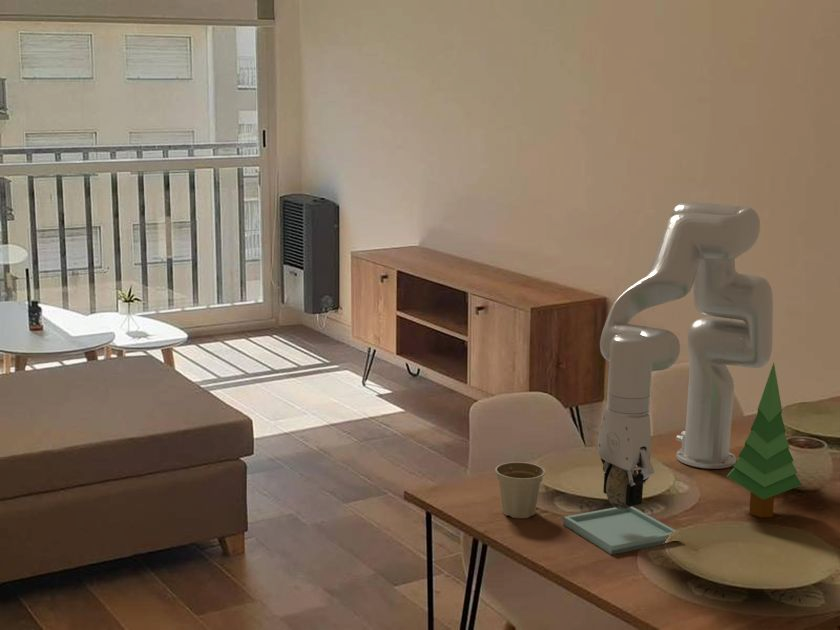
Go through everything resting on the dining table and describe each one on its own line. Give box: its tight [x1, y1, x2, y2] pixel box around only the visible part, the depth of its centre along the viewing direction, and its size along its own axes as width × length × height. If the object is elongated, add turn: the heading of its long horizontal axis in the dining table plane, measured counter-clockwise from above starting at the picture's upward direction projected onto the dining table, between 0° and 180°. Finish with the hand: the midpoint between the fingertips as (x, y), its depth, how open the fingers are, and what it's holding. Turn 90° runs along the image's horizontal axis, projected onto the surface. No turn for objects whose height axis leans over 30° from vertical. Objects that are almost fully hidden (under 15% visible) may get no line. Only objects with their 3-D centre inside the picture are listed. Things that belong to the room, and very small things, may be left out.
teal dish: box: [562, 506, 677, 556], centre depth 216 cm, size 15×15×2 cm
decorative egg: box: [605, 465, 638, 510], centre depth 214 cm, size 6×6×10 cm
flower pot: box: [494, 461, 546, 519], centre depth 224 cm, size 9×9×9 cm
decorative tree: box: [726, 362, 803, 518], centre depth 224 cm, size 14×16×30 cm
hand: (622, 497), depth 215 cm, fingers closed on decorative egg, 6 cm apart
